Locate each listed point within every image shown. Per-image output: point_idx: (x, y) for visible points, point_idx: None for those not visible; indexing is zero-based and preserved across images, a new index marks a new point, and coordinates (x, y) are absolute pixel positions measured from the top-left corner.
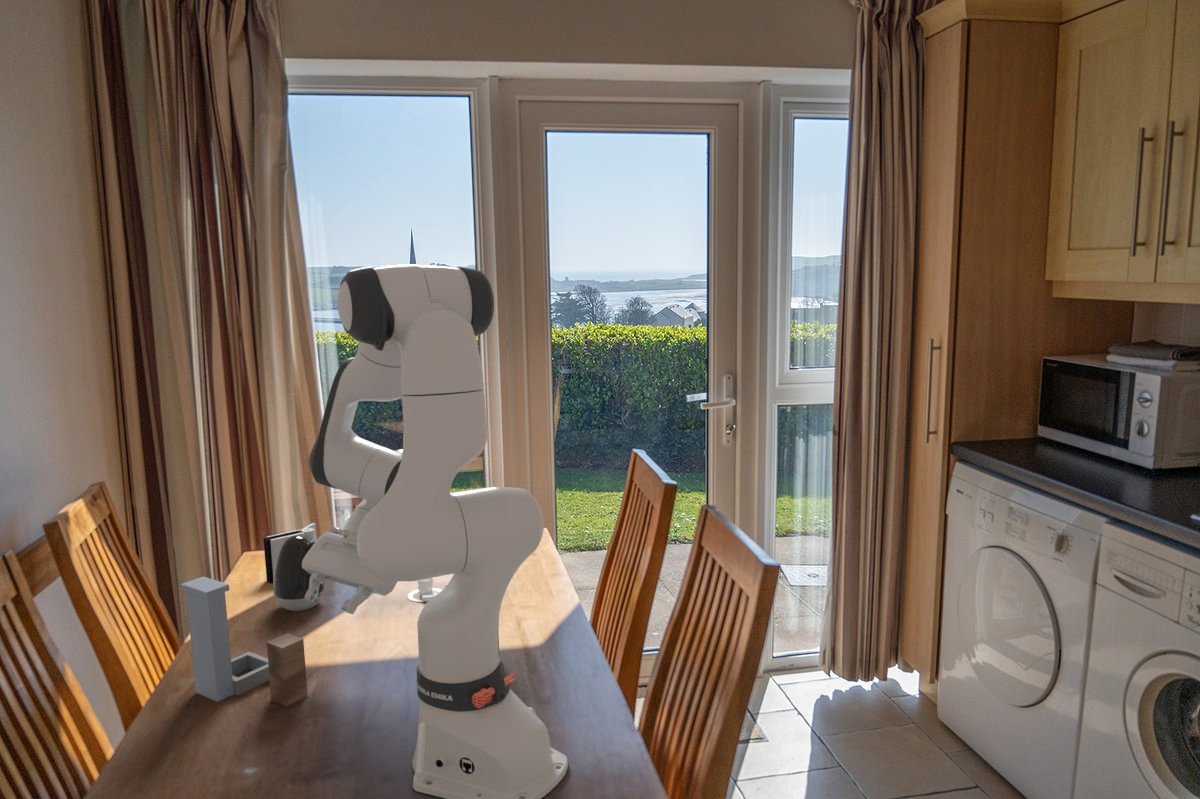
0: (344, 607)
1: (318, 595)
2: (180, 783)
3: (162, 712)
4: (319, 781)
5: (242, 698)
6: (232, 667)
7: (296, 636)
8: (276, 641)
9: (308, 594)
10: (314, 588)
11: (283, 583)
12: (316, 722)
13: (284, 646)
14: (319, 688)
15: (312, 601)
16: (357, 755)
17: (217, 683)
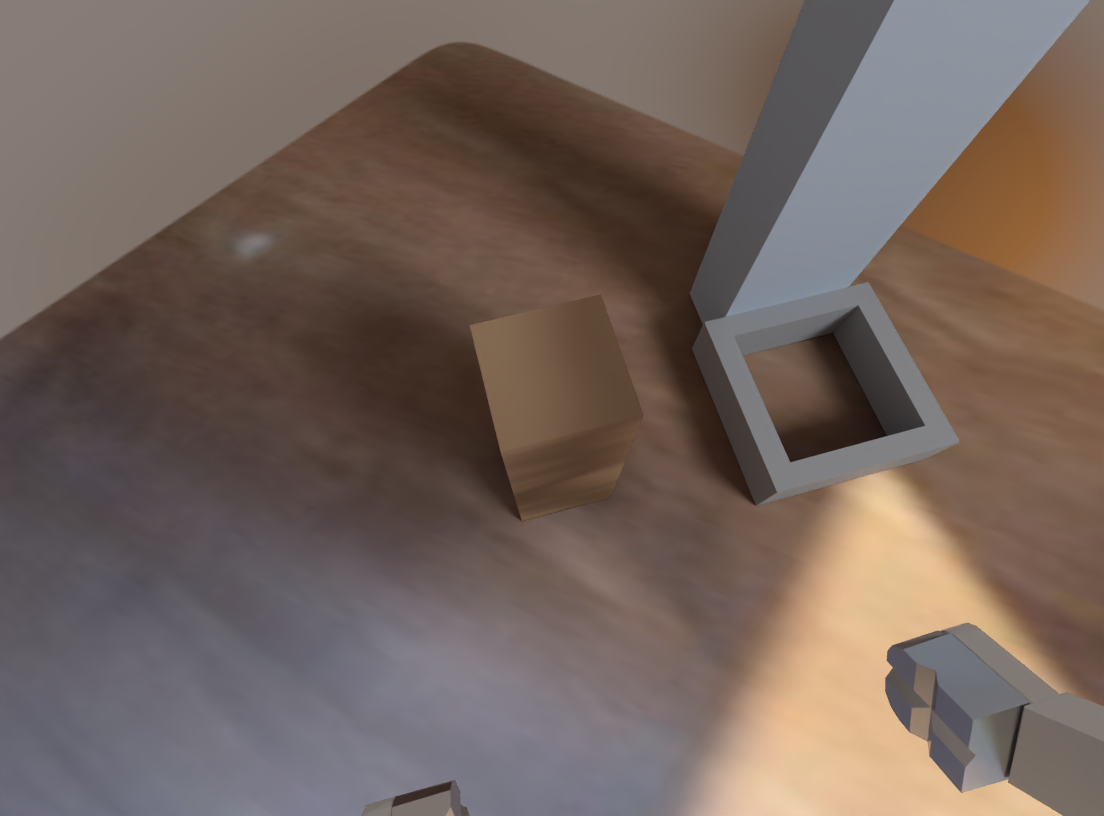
0: (412, 801)
1: (944, 755)
2: (340, 130)
3: (726, 179)
4: (41, 344)
5: (663, 354)
6: (876, 371)
7: (562, 435)
8: (574, 332)
9: (959, 651)
10: (1045, 751)
11: None
12: (325, 467)
13: (482, 339)
14: (547, 583)
15: (894, 673)
16: (39, 477)
17: (706, 260)
